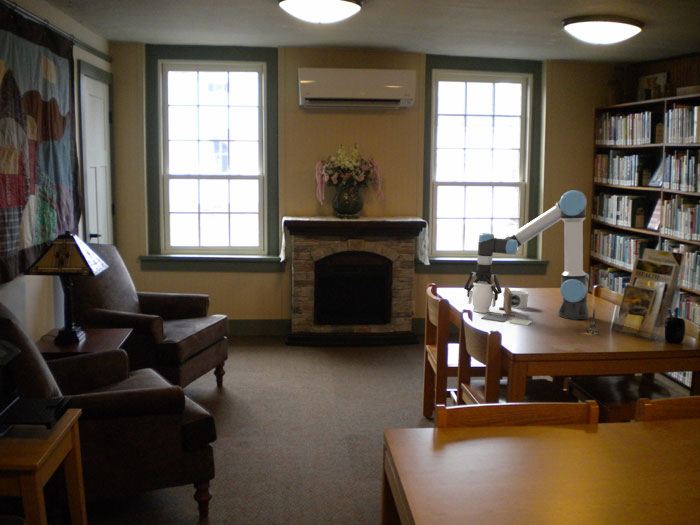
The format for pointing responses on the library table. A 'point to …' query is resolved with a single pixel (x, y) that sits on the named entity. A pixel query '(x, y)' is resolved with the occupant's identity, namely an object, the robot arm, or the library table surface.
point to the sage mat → (520, 321)
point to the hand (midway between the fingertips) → (481, 304)
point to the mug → (519, 299)
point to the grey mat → (495, 317)
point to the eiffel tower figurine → (592, 324)
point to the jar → (482, 296)
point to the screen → (507, 303)
